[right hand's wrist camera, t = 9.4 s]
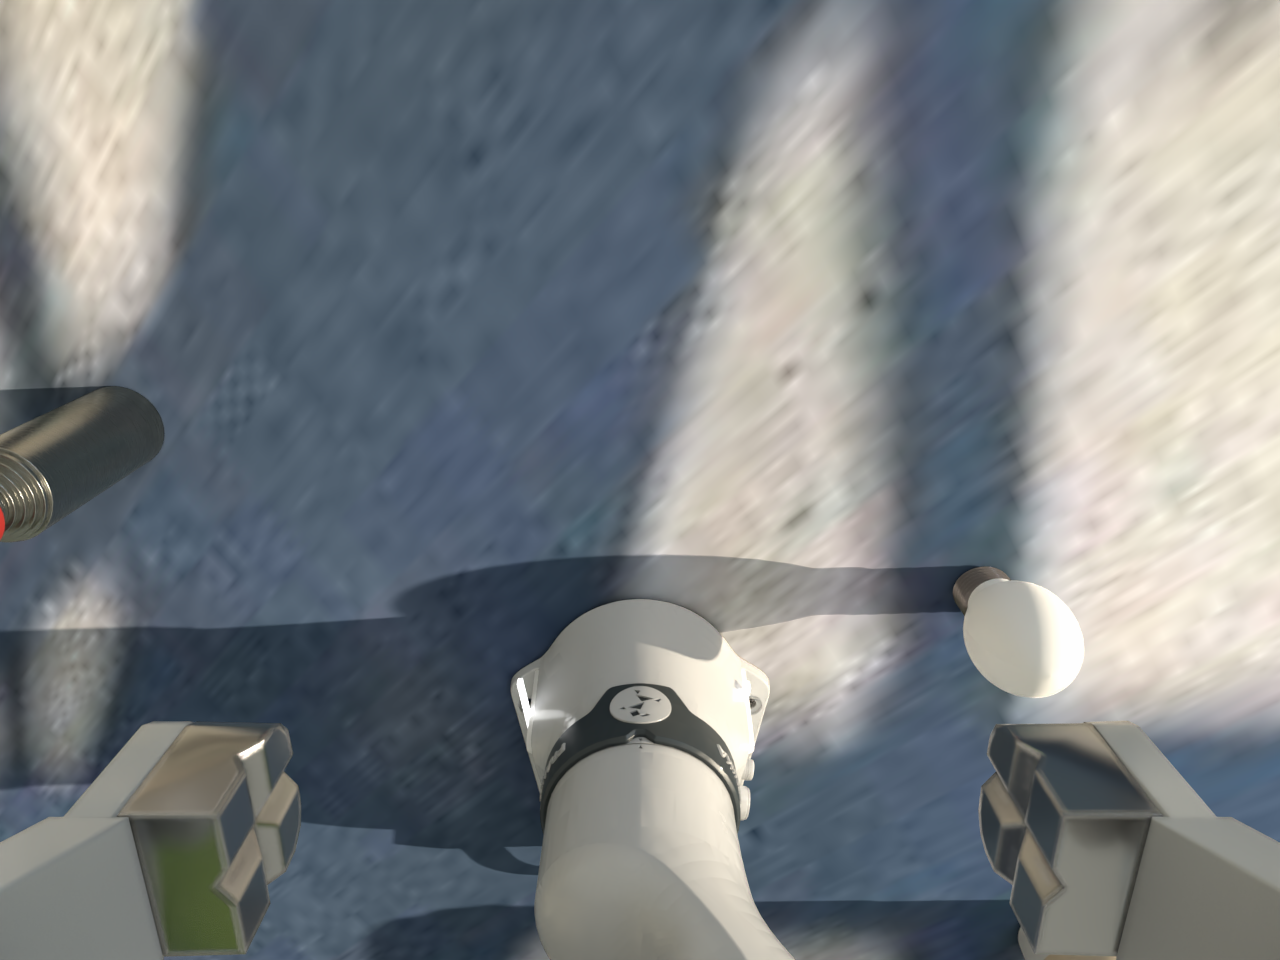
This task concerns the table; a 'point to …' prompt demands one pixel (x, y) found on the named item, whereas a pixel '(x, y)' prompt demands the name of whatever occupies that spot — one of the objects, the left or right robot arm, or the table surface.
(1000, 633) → the light bulb
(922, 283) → the table surface
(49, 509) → the bottle
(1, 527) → the cap
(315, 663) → the table surface
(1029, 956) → the coffee cup
